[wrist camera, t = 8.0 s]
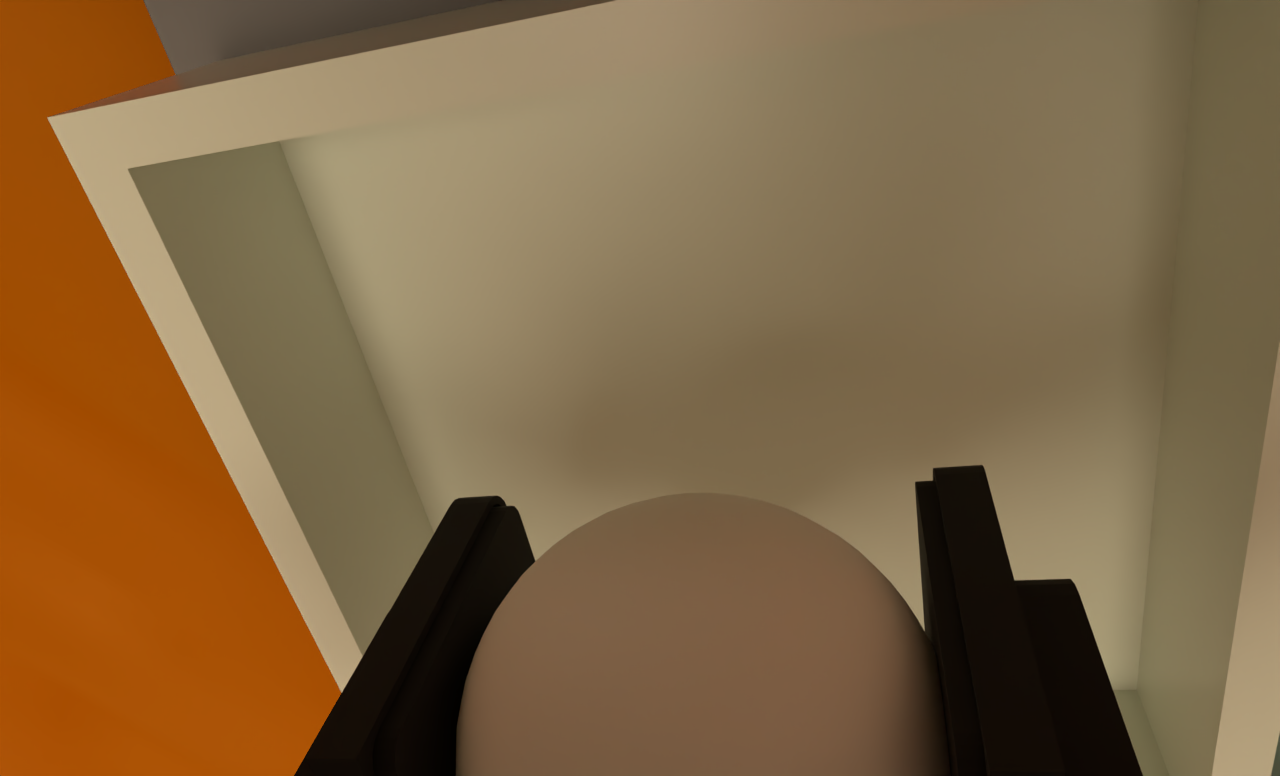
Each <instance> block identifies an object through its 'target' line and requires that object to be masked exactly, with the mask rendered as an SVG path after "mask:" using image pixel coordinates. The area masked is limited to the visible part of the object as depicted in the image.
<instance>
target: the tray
mask: <svg viewBox="0 0 1280 776" xmlns="http://www.w3.org/2000/svg"><path fill="white" fill-rule="evenodd" d="M47 118H48V120H49V122H50V124H51V126H52V128H53V130H54V132H55V134H56V136H57V138H58V139H59V141H60V143H61V145H62V147H63V149H64V151H65V153H66V155H67V157H68V159H69V161H70V163H71V165H72V167H73V169H74V171H75V173H76V175H77V177H78V179H79V181H80V182H81V184H82V186H83V188H84V190H85V192H86V194H87V196H88V198H89V200H90V202H91V204H92V206H93V208H94V210H95V212H96V214H97V216H98V218H99V220H100V222H101V223H102V225H103V227H104V229H105V231H106V233H107V235H108V237H109V239H110V241H111V243H112V245H113V247H114V249H115V251H116V253H117V255H118V257H119V259H120V261H121V263H122V265H123V266H124V268H125V270H126V272H127V274H128V276H129V278H130V280H131V282H132V284H133V286H134V288H135V290H136V292H137V294H138V296H139V298H140V300H141V302H142V304H143V306H144V308H145V309H146V311H147V313H148V315H149V317H150V319H151V321H152V323H153V325H154V327H155V329H156V331H157V333H158V335H159V337H160V339H161V341H162V343H163V345H164V347H165V349H166V350H167V352H168V354H169V356H170V358H171V360H172V362H173V364H174V366H175V368H176V370H177V372H178V374H179V376H180V378H181V380H182V382H183V384H184V386H185V388H186V390H187V392H188V393H189V395H190V397H191V399H192V401H193V403H194V405H195V407H196V409H197V411H198V413H199V415H200V417H201V419H202V421H203V423H204V425H205V427H206V429H207V431H208V433H209V435H210V436H211V438H212V440H213V442H214V444H215V446H216V448H217V450H218V452H219V454H220V456H221V458H222V460H223V462H224V464H225V466H226V468H227V470H228V472H229V474H230V476H231V478H232V479H233V481H234V483H235V485H236V487H237V489H238V491H239V493H240V495H241V497H242V499H243V501H244V503H245V505H246V507H247V509H248V511H249V513H250V515H251V517H252V519H253V520H254V522H255V524H256V526H257V528H258V530H259V532H260V534H261V536H262V538H263V540H264V542H265V544H266V546H267V548H268V550H269V552H270V554H271V556H272V558H273V560H274V562H275V563H276V565H277V567H278V569H279V571H280V573H281V575H282V577H283V579H284V581H285V583H286V585H287V587H288V589H289V591H290V593H291V595H292V597H293V599H294V601H295V603H296V605H297V606H298V608H299V610H300V612H301V614H302V616H303V618H304V620H305V622H306V624H307V626H308V628H309V630H310V632H311V634H312V636H313V638H314V640H315V642H316V644H317V646H318V647H319V649H320V651H321V653H322V655H323V657H324V659H325V661H326V663H327V665H328V667H329V669H330V671H331V673H332V675H333V677H334V679H335V681H336V683H337V685H338V687H339V689H340V690H341V692H343V690H344V688H345V686H346V685H347V683H348V681H349V679H350V678H351V676H352V674H353V672H354V671H355V669H356V667H357V666H358V664H359V662H360V660H361V659H362V657H363V655H364V653H365V652H366V650H367V648H368V646H369V645H370V643H371V641H372V639H373V638H374V636H375V634H376V632H377V631H378V629H379V627H380V626H381V624H382V622H383V620H384V619H385V617H386V615H387V614H388V612H389V611H390V609H391V608H392V606H393V604H394V602H395V601H396V599H397V597H398V595H399V594H400V592H401V590H402V589H403V587H404V585H405V583H406V582H407V580H408V578H409V576H410V575H411V573H412V571H413V569H414V568H415V566H416V564H417V562H418V561H419V559H420V557H421V555H422V554H423V552H424V550H425V548H426V547H427V545H428V543H429V541H430V540H431V538H432V536H433V535H434V533H435V531H436V529H437V528H438V526H439V524H440V522H441V521H442V519H443V517H444V515H445V514H446V512H447V510H448V508H449V507H450V505H451V504H452V502H453V501H454V500H455V499H458V498H464V497H480V496H496V495H497V496H500V497H501V498H502V499H503V500H504V501H505V503H506V506H515V507H516V508H517V510H518V511H519V514H520V516H521V519H522V522H523V525H524V528H525V531H526V534H527V537H528V540H529V543H530V546H531V549H532V552H533V555H534V558H535V561H536V560H537V559H538V558H540V557H541V556H542V555H543V554H544V553H545V552H546V551H547V550H549V549H550V548H551V547H552V546H553V545H554V544H556V543H557V542H558V541H560V540H561V539H562V538H564V537H565V536H567V535H568V534H569V533H571V532H572V531H574V530H575V529H577V528H579V527H581V526H582V525H584V524H586V523H588V522H590V521H592V520H593V519H595V518H597V517H599V516H601V515H603V514H605V513H607V512H609V511H612V510H614V509H617V508H620V507H623V506H625V505H628V504H631V503H635V502H639V501H643V500H648V499H652V498H656V497H661V496H665V495H674V494H683V493H719V494H729V495H738V496H743V497H748V498H753V499H758V500H762V501H765V502H768V503H771V504H775V505H778V506H781V507H784V508H786V509H789V510H791V511H793V512H796V513H798V514H800V515H802V516H805V517H807V518H809V519H810V520H812V521H814V522H816V523H817V524H819V525H821V526H823V527H824V528H826V529H828V530H830V531H831V532H833V533H835V534H837V535H838V536H840V537H841V538H842V539H844V540H845V541H846V542H848V543H849V544H850V545H852V546H853V547H854V548H856V549H857V550H858V551H860V552H861V553H862V554H863V555H864V556H865V557H866V558H867V559H868V560H869V561H870V562H871V563H872V564H873V565H874V566H875V567H876V568H877V569H878V570H879V571H880V572H881V573H882V574H883V575H884V576H885V577H886V578H887V579H888V580H889V581H890V582H891V583H892V584H893V586H894V587H895V588H896V589H897V591H898V592H899V593H900V595H901V596H902V597H903V598H904V600H905V601H906V602H907V604H908V605H909V607H910V608H911V610H912V611H913V613H914V614H915V616H916V617H917V619H918V621H919V622H920V624H921V626H922V628H923V629H924V631H925V628H924V613H923V598H922V583H921V569H920V554H919V539H918V524H917V509H916V494H915V482H916V481H932V480H933V468H939V467H955V466H971V465H983V466H984V469H985V472H986V476H987V479H988V483H989V487H990V491H991V494H992V498H993V502H994V506H995V509H996V513H997V517H998V521H999V524H1000V528H1001V532H1002V536H1003V539H1004V543H1005V547H1006V551H1007V554H1008V558H1009V562H1010V566H1011V569H1012V573H1013V577H1014V580H1044V579H1071V580H1072V581H1073V582H1074V583H1075V585H1076V587H1077V590H1078V592H1079V594H1080V597H1081V600H1082V603H1083V606H1084V609H1085V611H1086V614H1087V617H1088V620H1089V623H1090V626H1091V629H1092V631H1093V634H1094V637H1095V640H1096V643H1097V646H1098V649H1099V651H1100V654H1101V657H1102V660H1103V663H1104V666H1105V669H1106V671H1107V674H1108V677H1109V680H1110V683H1111V686H1112V689H1113V691H1114V694H1115V697H1116V700H1117V703H1118V706H1119V709H1120V711H1121V714H1122V717H1123V720H1124V723H1125V726H1126V729H1127V731H1128V734H1129V737H1130V740H1131V743H1132V746H1133V748H1134V751H1135V754H1136V757H1137V760H1138V763H1139V766H1140V768H1141V771H1142V774H1143V776H1271V773H1272V768H1273V763H1274V758H1275V753H1276V748H1277V743H1278V738H1279V733H1280V0H501V1H497V2H492V3H487V4H483V5H478V6H473V7H468V8H464V9H459V10H454V11H450V12H445V13H440V14H436V15H431V16H426V17H421V18H417V19H412V20H407V21H403V22H398V23H393V24H389V25H384V26H379V27H374V28H370V29H365V30H360V31H356V32H351V33H346V34H342V35H337V36H332V37H327V38H323V39H318V40H313V41H309V42H304V43H299V44H295V45H290V46H285V47H281V48H276V49H271V50H266V51H262V52H257V53H252V54H248V55H243V56H238V57H234V58H229V59H224V60H220V61H217V62H214V63H211V64H207V65H204V66H201V67H198V68H195V69H192V70H189V71H186V72H183V73H180V74H177V75H174V76H171V77H168V78H165V79H162V80H159V81H156V82H153V83H150V84H147V85H144V86H141V87H138V88H135V89H132V90H129V91H126V92H123V93H120V94H117V95H114V96H111V97H108V98H105V99H102V100H99V101H96V102H93V103H90V104H87V105H84V106H81V107H78V108H75V109H72V110H69V111H66V112H63V113H60V114H56V115H53V116H50V117H47Z"/></svg>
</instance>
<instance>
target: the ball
mask: <svg viewBox="0 0 1280 776" xmlns="http://www.w3.org/2000/svg"><path fill="white" fill-rule="evenodd" d="M456 776H951V773H950V762H949V752H948V743H947V734H946V725H945V716H944V708H943V700H942V693H941V685H940V678H939V672H938V666H937V659H936V655H935V651H934V649H933V646H932V644H931V642H930V640H929V638H928V637H927V635H926V633H925V631H924V629H923V628H922V626H921V624H920V622H919V621H918V619H917V617H916V616H915V614H914V613H913V611H912V610H911V608H910V607H909V605H908V604H907V602H906V601H905V600H904V598H903V597H902V596H901V595H900V593H899V592H898V591H897V589H896V588H895V587H894V586H893V584H892V583H891V582H890V581H889V580H888V579H887V578H886V577H885V576H884V575H883V574H882V573H881V572H880V571H879V570H878V569H877V568H876V567H875V566H874V565H873V564H872V563H871V562H870V561H869V560H868V559H867V558H866V557H865V556H864V555H863V554H862V553H861V552H860V551H858V550H857V549H856V548H854V547H853V546H852V545H850V544H849V543H848V542H846V541H845V540H844V539H842V538H841V537H840V536H838V535H837V534H835V533H833V532H831V531H830V530H828V529H826V528H824V527H823V526H821V525H819V524H817V523H816V522H814V521H812V520H810V519H809V518H807V517H805V516H802V515H800V514H798V513H796V512H793V511H791V510H789V509H786V508H784V507H781V506H778V505H775V504H771V503H768V502H765V501H762V500H758V499H753V498H748V497H743V496H738V495H729V494H719V493H683V494H674V495H665V496H661V497H656V498H652V499H648V500H643V501H639V502H635V503H631V504H628V505H625V506H623V507H620V508H617V509H614V510H612V511H609V512H607V513H605V514H603V515H601V516H599V517H597V518H595V519H593V520H592V521H590V522H588V523H586V524H584V525H582V526H581V527H579V528H577V529H575V530H574V531H572V532H571V533H569V534H568V535H567V536H565V537H564V538H562V539H561V540H560V541H558V542H557V543H556V544H554V545H553V546H552V547H551V548H550V549H549V550H547V551H546V552H545V553H544V554H543V555H542V556H541V557H540V558H538V559H537V560H536V561H535V562H534V563H533V564H532V565H531V566H530V567H529V568H528V569H527V570H526V571H525V572H524V573H523V574H522V576H521V577H520V578H519V580H518V581H517V582H516V584H515V585H514V586H513V587H512V589H511V590H510V591H509V593H508V594H507V595H506V597H505V598H504V600H503V601H502V603H501V604H500V605H499V607H498V608H497V610H496V611H495V613H494V615H493V617H492V619H491V621H490V622H489V624H488V626H487V628H486V630H485V632H484V634H483V636H482V638H481V640H480V643H479V645H478V647H477V649H476V652H475V654H474V657H473V660H472V663H471V666H470V669H469V672H468V675H467V678H466V681H465V686H464V690H463V695H462V699H461V705H460V711H459V716H458V722H457V732H456Z"/></svg>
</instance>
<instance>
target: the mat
mask: <svg viewBox="0 0 1280 776" xmlns="http://www.w3.org/2000/svg"><path fill="white" fill-rule="evenodd" d="M497 1H501V0H144V3H145V5H146V7H147V9H148V12H149V14H150V16H151V19H152V21H153V23H154V26H155V28H156V30H157V32H158V35H159V37H160V39H161V42H162V44H163V46H164V49H165V51H166V53H167V56H168V58H169V60H170V62H171V65H172V67H173V69H174V72H175V74H176V75H177V74H180V73H183V72H186V71H189V70H192V69H195V68H198V67H201V66H204V65H207V64H211V63H214V62H217V61H220V60H224V59H229V58H234V57H238V56H243V55H248V54H252V53H257V52H262V51H266V50H271V49H276V48H281V47H285V46H290V45H295V44H299V43H304V42H309V41H313V40H318V39H323V38H327V37H332V36H337V35H342V34H346V33H351V32H356V31H360V30H365V29H370V28H374V27H379V26H384V25H389V24H393V23H398V22H403V21H407V20H412V19H417V18H421V17H426V16H431V15H436V14H440V13H445V12H450V11H454V10H459V9H464V8H468V7H473V6H478V5H483V4H487V3H492V2H497Z"/></svg>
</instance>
